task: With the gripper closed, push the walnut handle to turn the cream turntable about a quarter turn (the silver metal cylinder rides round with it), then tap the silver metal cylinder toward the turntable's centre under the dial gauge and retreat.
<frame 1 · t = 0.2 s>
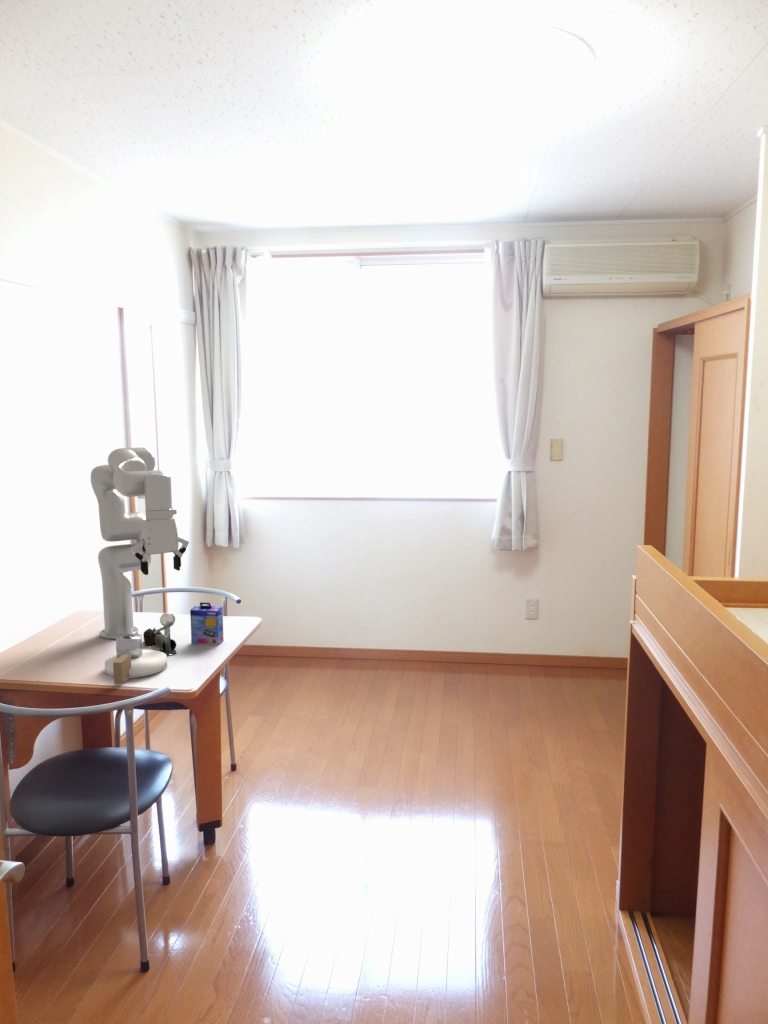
hand: (161, 571, 220), 31 cm above the table, tool pointing down, fingers open, 9 cm apart
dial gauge: (168, 653, 241), on the table
silver metal cylinder: (129, 655, 229), point 3 cm above the table, touching turntable
turntable: (133, 659, 223), point 4 cm above the table, hinge at -40.0°, touching silver metal cylinder
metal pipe: (157, 647, 248), on the table, touching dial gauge
ink cartridge box: (207, 643, 252), on the table
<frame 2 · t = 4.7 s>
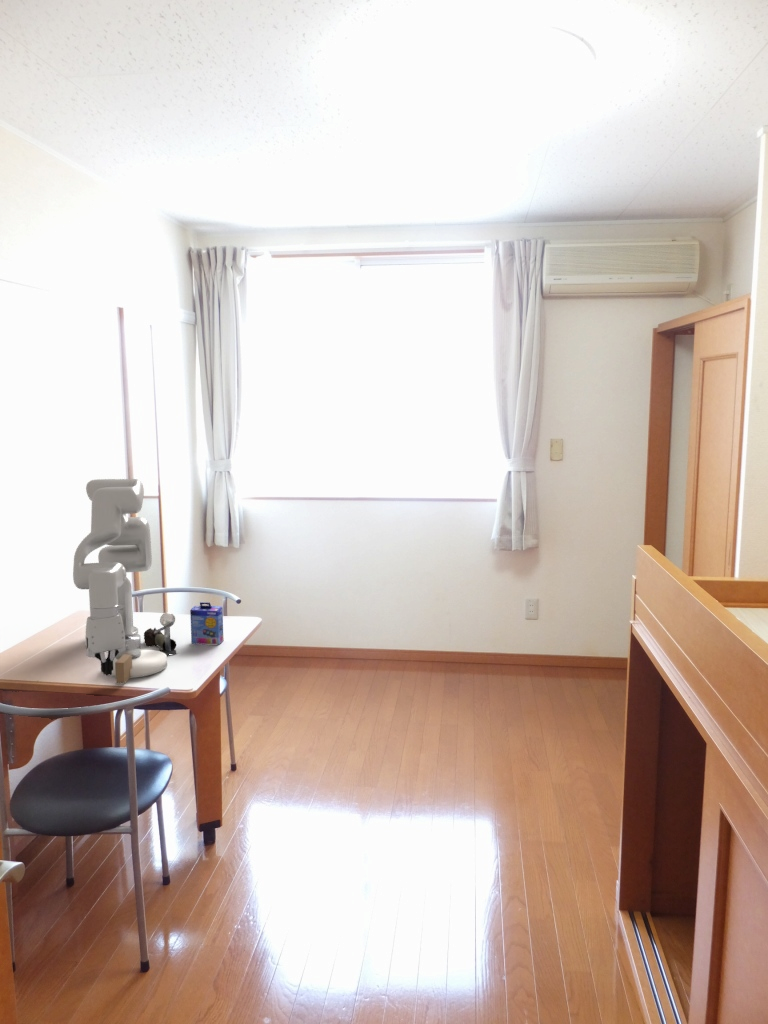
hand: (107, 673, 212), 4 cm above the table, tool pointing down, fingers closed
turntable: (133, 659, 223), point 4 cm above the table, hinge at -37.4°, touching silver metal cylinder
everything else where it was.
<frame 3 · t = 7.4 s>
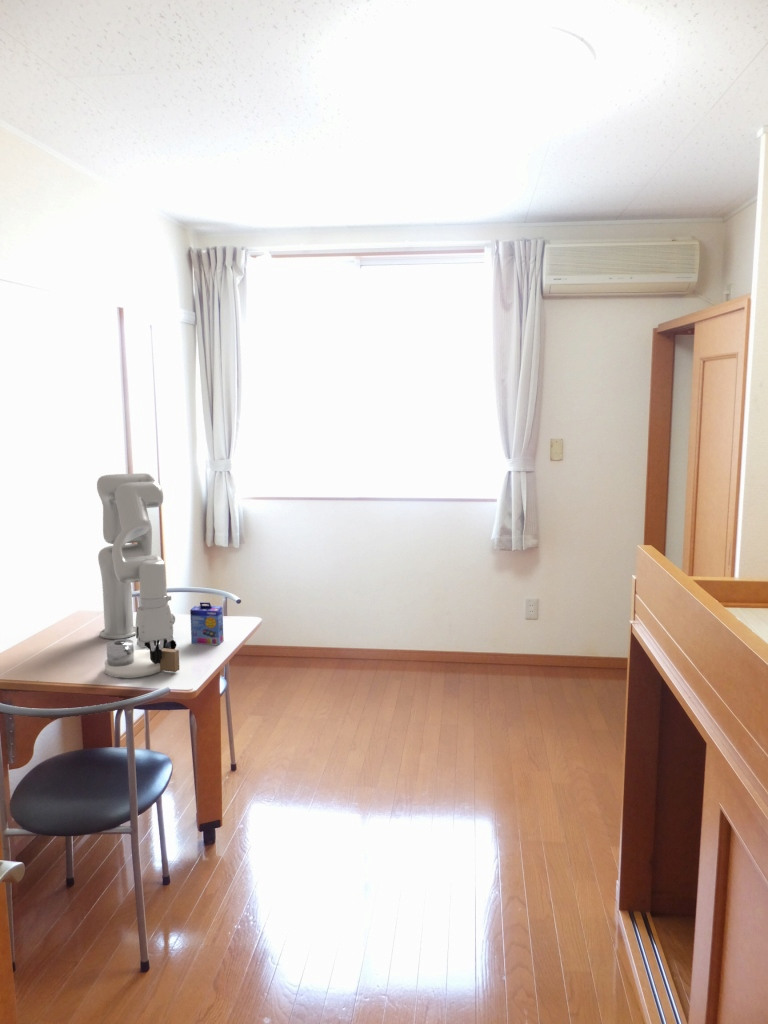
hand: (156, 662, 220), 4 cm above the table, tool pointing down, fingers closed
silver metal cylinder: (120, 662, 224), point 3 cm above the table, touching turntable
turntable: (143, 657, 225), point 4 cm above the table, hinge at 37.6°, touching silver metal cylinder, gripper
everything else where it was.
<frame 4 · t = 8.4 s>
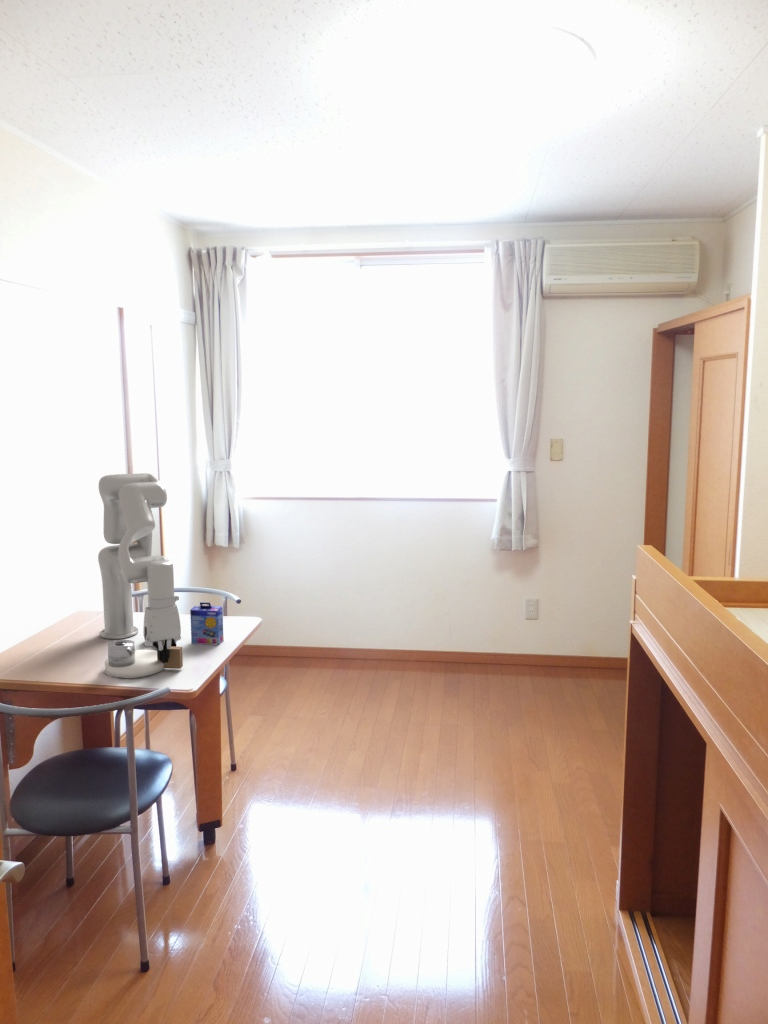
hand: (163, 661, 222), 4 cm above the table, tool pointing down, fingers closed
turntable: (144, 657, 226), point 4 cm above the table, hinge at 49.5°, touching silver metal cylinder, gripper
everything else where it was.
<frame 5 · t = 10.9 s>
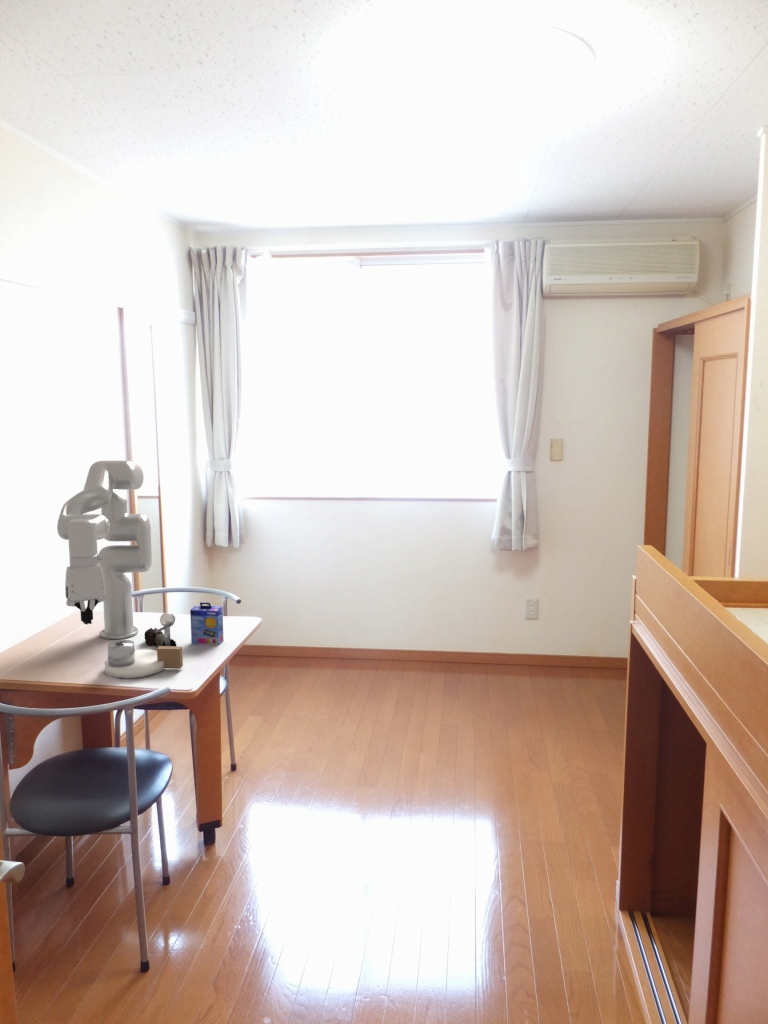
hand: (87, 622, 216), 17 cm above the table, tool pointing down, fingers closed
turntable: (144, 657, 226), point 4 cm above the table, hinge at 49.7°, touching silver metal cylinder
everything else where it was.
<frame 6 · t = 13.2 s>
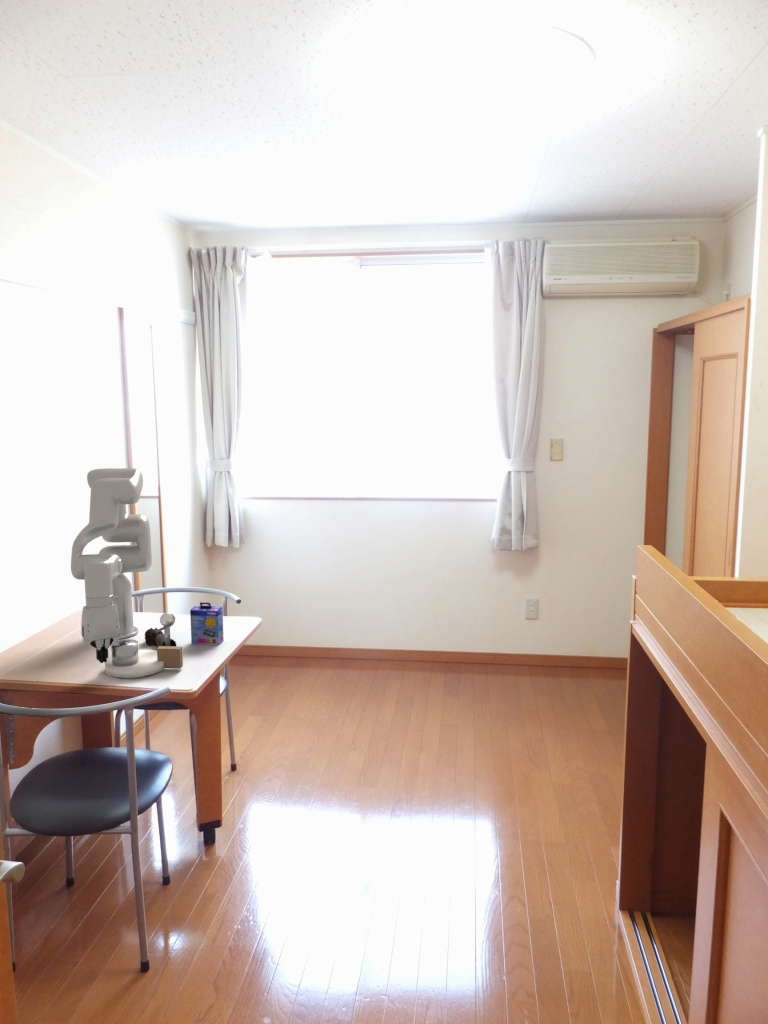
hand: (102, 661, 220), 5 cm above the table, tool pointing down, fingers closed
silver metal cylinder: (125, 662, 223), point 3 cm above the table, touching gripper, turntable
everything else where it was.
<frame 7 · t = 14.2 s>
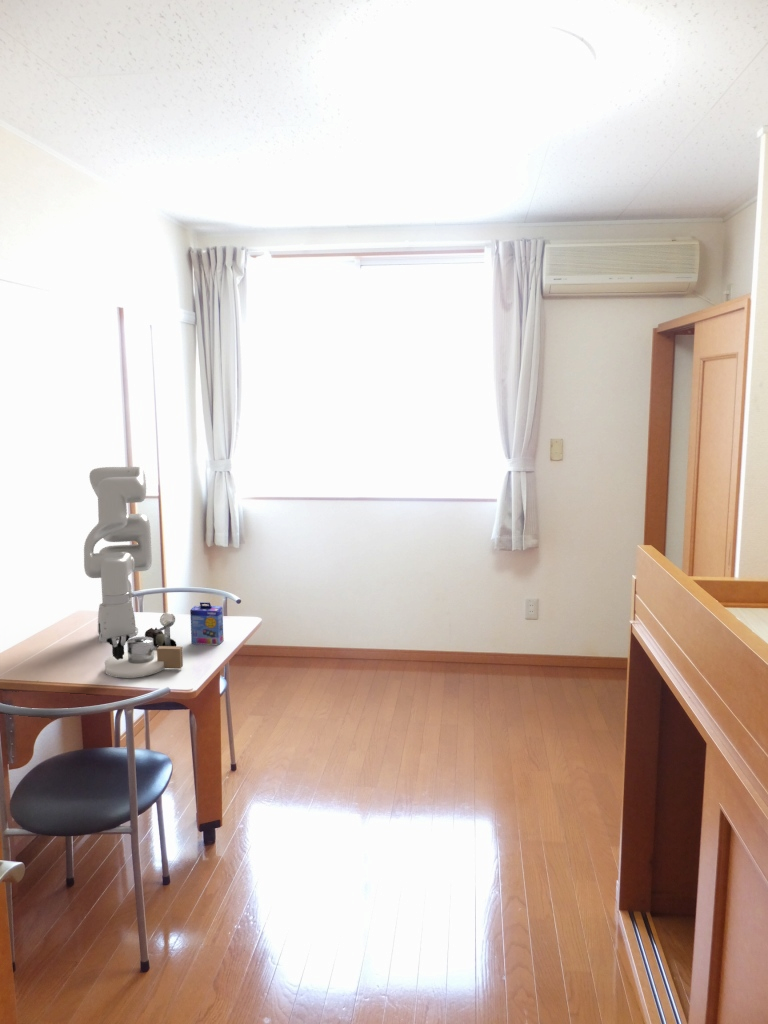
hand: (118, 657, 222), 5 cm above the table, tool pointing down, fingers closed
silver metal cylinder: (141, 659, 226), point 3 cm above the table, touching gripper, turntable
everything else where it was.
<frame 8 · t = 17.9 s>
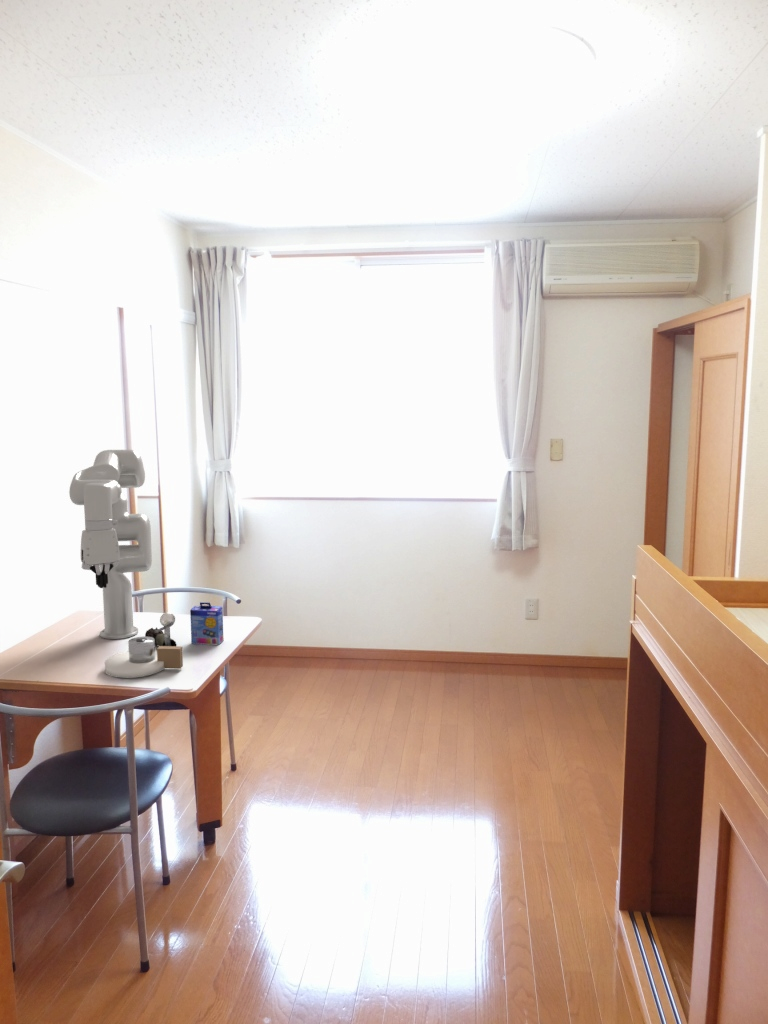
hand: (102, 586, 217), 27 cm above the table, tool pointing down, fingers closed
silver metal cylinder: (142, 659, 226), point 3 cm above the table, touching turntable
everything else where it was.
at the end: turntable at +50° (first picture: -40°); silver metal cylinder 1.8 cm from the turntable (horizontally); silver metal cylinder tilted 0° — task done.
